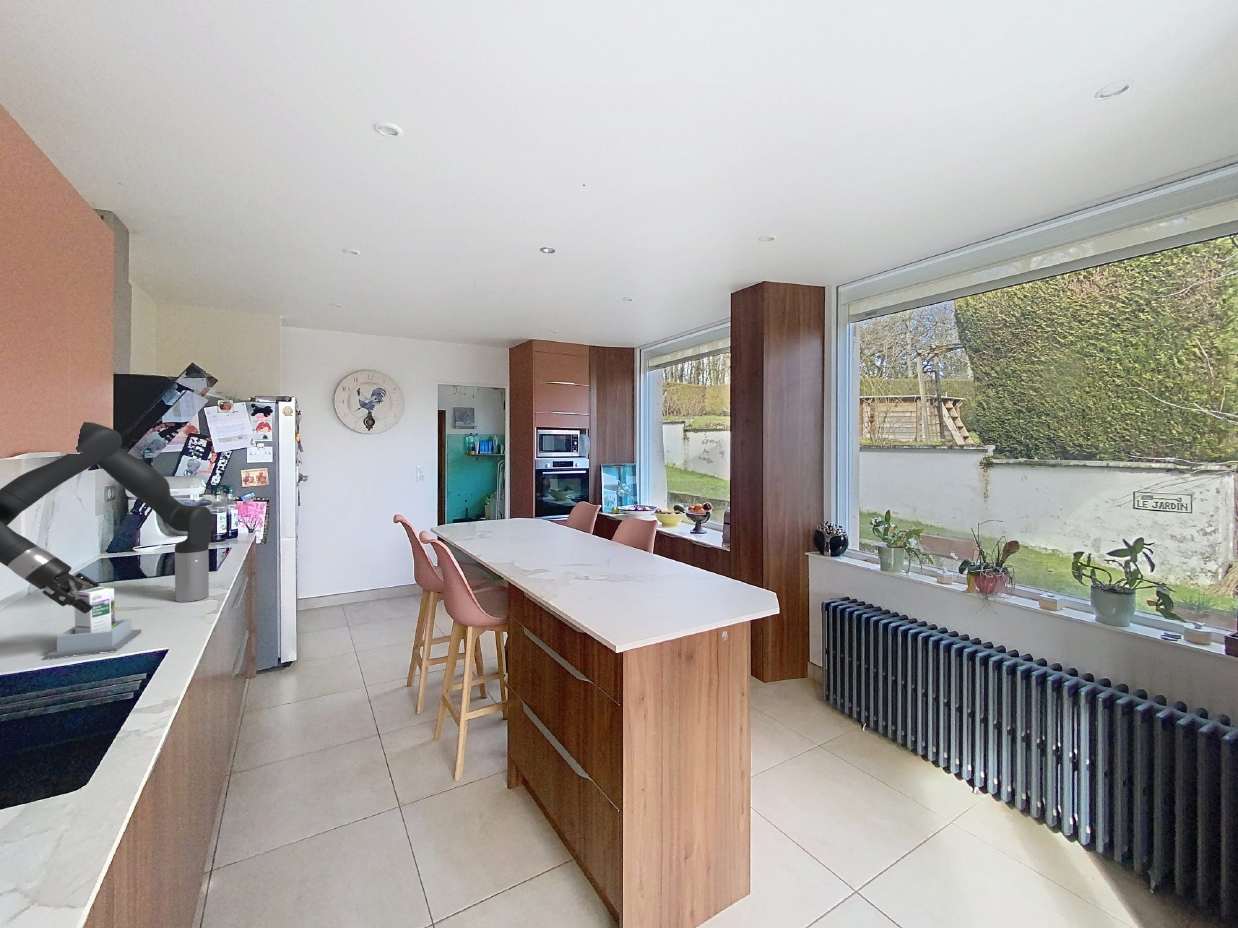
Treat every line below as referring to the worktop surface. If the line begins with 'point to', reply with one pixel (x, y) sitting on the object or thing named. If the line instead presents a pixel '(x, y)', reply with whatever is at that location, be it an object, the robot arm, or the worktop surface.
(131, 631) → the holder
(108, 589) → the syrup box
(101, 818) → the worktop surface
